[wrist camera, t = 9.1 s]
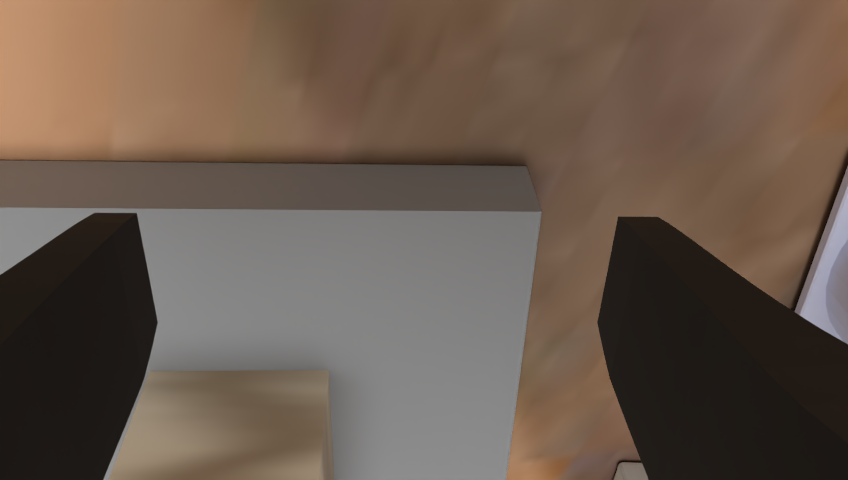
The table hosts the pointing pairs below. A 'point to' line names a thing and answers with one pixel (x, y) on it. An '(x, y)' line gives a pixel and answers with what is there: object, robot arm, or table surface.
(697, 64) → the table surface
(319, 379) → the maple block
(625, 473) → the small box
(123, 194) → the slate plinth
